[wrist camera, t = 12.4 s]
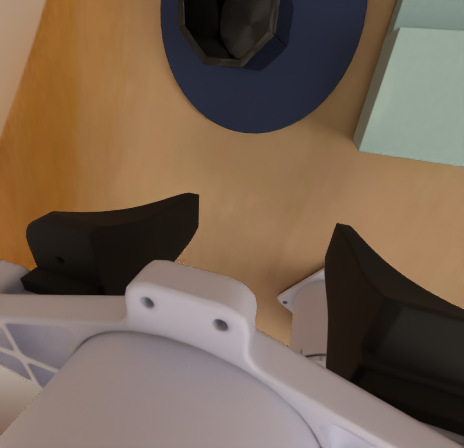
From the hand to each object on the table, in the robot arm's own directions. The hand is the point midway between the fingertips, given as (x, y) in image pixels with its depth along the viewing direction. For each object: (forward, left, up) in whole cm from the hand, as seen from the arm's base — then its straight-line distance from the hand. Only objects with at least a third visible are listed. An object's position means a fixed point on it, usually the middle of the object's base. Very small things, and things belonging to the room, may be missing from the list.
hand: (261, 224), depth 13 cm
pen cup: (+9, -6, -10) cm, 14 cm away
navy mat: (+8, -6, -10) cm, 15 cm away
